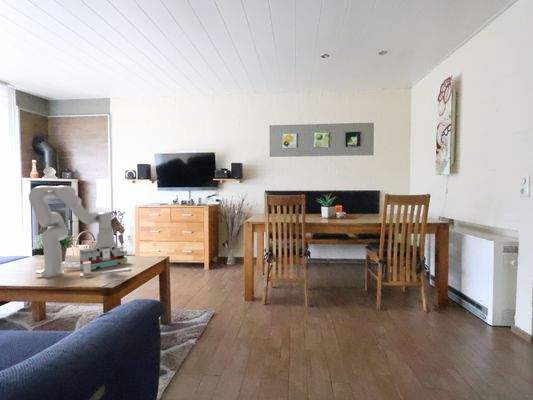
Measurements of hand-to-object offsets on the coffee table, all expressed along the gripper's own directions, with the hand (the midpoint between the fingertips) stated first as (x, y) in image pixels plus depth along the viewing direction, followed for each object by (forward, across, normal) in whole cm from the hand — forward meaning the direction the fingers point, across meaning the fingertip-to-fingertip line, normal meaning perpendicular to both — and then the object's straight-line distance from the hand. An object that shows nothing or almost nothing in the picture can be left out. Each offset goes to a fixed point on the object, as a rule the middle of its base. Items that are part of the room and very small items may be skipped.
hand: (106, 257), depth 206 cm
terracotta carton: (+10, +11, 0) cm, 15 cm away
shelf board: (+11, 0, 0) cm, 11 cm away
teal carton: (+2, 0, 0) cm, 2 cm away
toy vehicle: (+11, -1, -20) cm, 23 cm away
